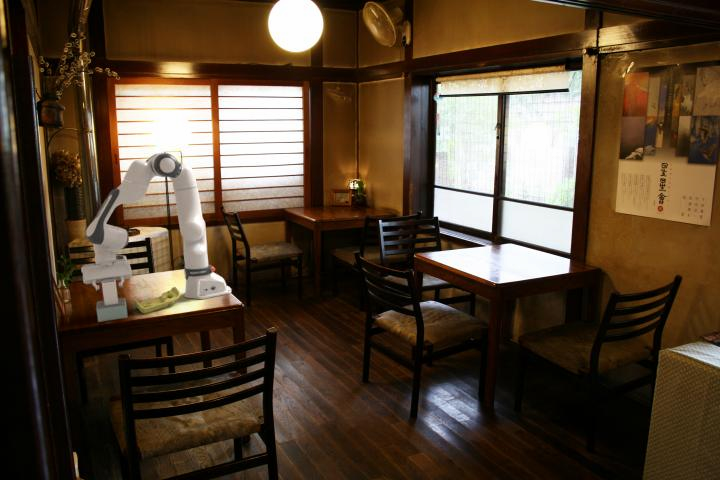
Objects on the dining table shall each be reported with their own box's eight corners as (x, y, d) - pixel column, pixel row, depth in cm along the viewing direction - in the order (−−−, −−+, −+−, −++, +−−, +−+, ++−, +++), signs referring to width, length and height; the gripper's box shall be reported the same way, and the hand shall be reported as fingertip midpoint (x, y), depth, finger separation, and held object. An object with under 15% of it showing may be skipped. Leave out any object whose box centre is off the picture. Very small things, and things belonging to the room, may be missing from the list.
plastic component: (142, 310, 265) (132, 296, 270) (142, 322, 269) (132, 309, 274) (183, 296, 278) (173, 284, 283) (183, 308, 282) (172, 296, 287)
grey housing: (117, 300, 268) (114, 277, 266) (118, 303, 263) (115, 280, 261) (104, 302, 266) (101, 279, 264) (104, 305, 261) (101, 282, 259)
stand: (126, 309, 273) (125, 297, 272) (127, 317, 263) (126, 304, 261) (98, 314, 269) (96, 301, 268) (98, 321, 258) (96, 308, 257)
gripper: (80, 261, 263) (82, 288, 256) (129, 255, 271) (133, 281, 264) (81, 269, 268) (84, 295, 261) (129, 263, 276) (133, 288, 269)
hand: (109, 288), depth 262 cm, fingers open, 8 cm apart
